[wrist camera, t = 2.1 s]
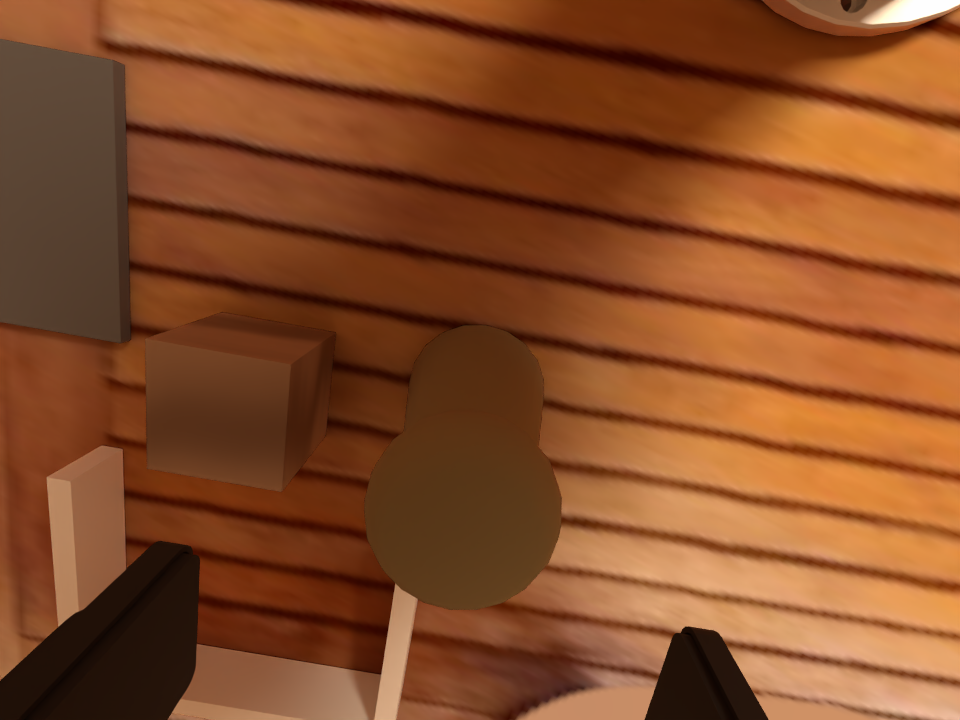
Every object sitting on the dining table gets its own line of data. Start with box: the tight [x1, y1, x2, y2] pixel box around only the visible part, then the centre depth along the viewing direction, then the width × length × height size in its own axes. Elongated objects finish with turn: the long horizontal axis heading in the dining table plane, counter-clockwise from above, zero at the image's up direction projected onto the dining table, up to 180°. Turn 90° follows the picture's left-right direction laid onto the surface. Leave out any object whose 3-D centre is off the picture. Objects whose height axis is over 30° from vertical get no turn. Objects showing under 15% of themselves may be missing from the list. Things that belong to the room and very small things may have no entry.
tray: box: [47, 445, 418, 720], centre depth 24 cm, size 12×16×3 cm
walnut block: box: [145, 312, 336, 492], centre depth 20 cm, size 5×5×5 cm
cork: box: [364, 325, 562, 610], centre depth 17 cm, size 6×6×11 cm
